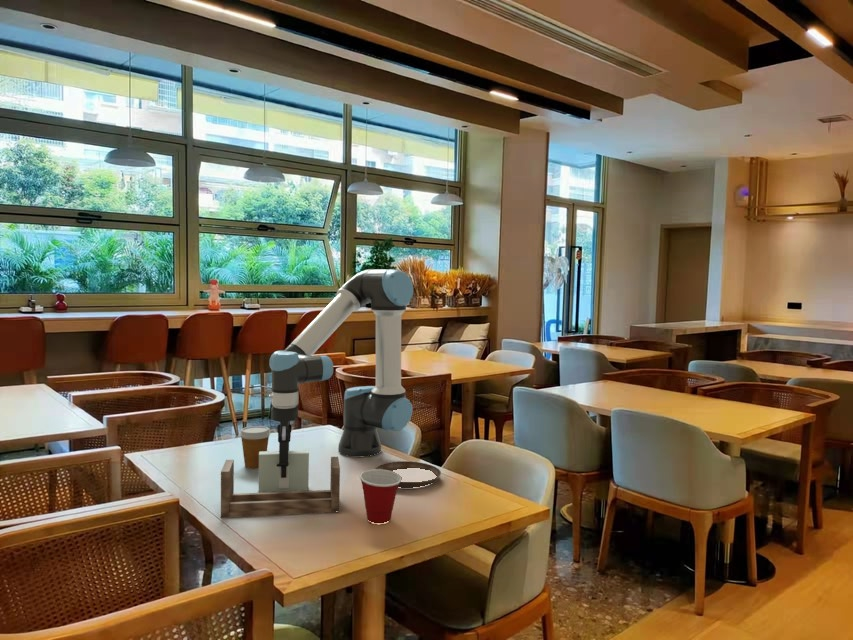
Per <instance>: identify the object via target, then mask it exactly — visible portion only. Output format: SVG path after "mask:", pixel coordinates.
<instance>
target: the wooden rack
mask: <svg viewBox="0 0 853 640" xmlns="http://www.w3.org/2000/svg"><path fill="white" fill-rule="evenodd" d="M234 461H235V460H234V459H226V460H225V462H224V463H223V466H222V469H221V471H220V518H239V517H240V518H241V517H242V518H243V517H245V518H246V517H263V516H265V517H266V515H268V516H284V515H285V516H286V515H287V516H288V515H308V514H309V515H310V513H311V514H324V513H323V512H333V513H337V512H336V511H339V512H340V490H341V489H340V488H341V487H340V484H341V483H340V481H341V478H340V477H341V466H340V460H339V456H330V488H329V489H324V490H323V489H319V490H316V489H315V490H304V491H278V492H247V493H245V492H244V493H241V492H240V493H239V492H238V493H235V491H234V490H235V489H234V487H235V485H234V484H235V481H234V480H235V479H234V478H235V477H234V476H235V470H234V467H235V462H234Z"/></svg>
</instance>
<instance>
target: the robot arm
mask: <svg viewBox="0 0 853 640" xmlns="http://www.w3.org/2000/svg"><path fill="white" fill-rule="evenodd" d="M413 297H414V286H413V281H412V279H411V277H410V276H409V275H408V274H407V273H406V272H404V271H403V270H400V269H395V268H394V269H393V268H389V269H385V268H384V269H383V268H382V269H381V268H380V269H379V268H377V269H375V268H369V269H364V270H362V271H359V272H358V273H356V274H355V275H353V276H352V277H351V278H349V279H348V280H347V281H346V282H345V283H343V284H342V285H341V286H340V287H339V288H338V289H337V291H336V296H335V297H334V298H333V299H332V300H331V301H330V302H329V303H328V305H326V307H324V309H322V310H321V311H320V313H319V314H318V315H317V316H316V317H315V318H314V319H313V320H312V321H311V322H310V323H309V324H308V325H307V326H306V327H305V328H304V329H303V330H302V331H301V332H300V334H298V335H297V336H296V338H295V339H294V340H293V341H291V343H290V344H289V345H288V346H287V347H286V348H285V349H284V350H283V349H281V350H276V351H274V352H273V353H272V354H271V356H270V358H269V363H268V364H269V368H270V369H271V394H269V397H268V398H271V405H272V407H271V414H270V416H271V417H270V418H271V420H272V421H274V422H279V423H280V424H277V432H276V433H277V442H278V444H279V445H278V446H279V447H278V449H279V450H278V451H279V464H277V467H279V488H288V486H289V463H288V451H290V442H291V436H292V435H291V433H292V429H293V426H292V425H293V424H292V423H291V424H290V422H293V421H296V420H298V417H299V407H298V405H299V394H300V393H299V385H300V384H307V383H315V382H323V381H326V380H329V379H330V378H331V377H332V376H333V374H334V363H333V360H332V359H331V358H330V357H329V356H328V355H319V354H318V355H314V354H315V353H316V352H317V351H318V349H320V347H321V346H322V345H324V344H325V342H326V341H327V340H328V339H329V338H330V337H331V336H332V335H333V334H334V332H335V331H336V330H338V328H339V327H340V326H341V325H342V324H343V323H344V322H345V320H346V319H347V318H348V317H350V315H351V314H352V313H353V312H357V311H360V309H361V308H362V307H363V306H365V305H367V304H370V310H371V311H372V313H373V314H374V315H375V385H366V386H365V385H364V386H362V385H361V386H354V387H349V388H346V389H345V391H344V397H343V432H342V435H341V437H340V440H339V443H338V448H337V449H338V453H339V452H340V453H341V454H340V453H339V454H340V455H343V456H346V455H348V456H347V457H351V456H368V457H371V456H370V455H373V456H375V455H374V454H377V453H379V452H380V451H381V452H382V443H381V440H380V437H379V433H378V429H381V430H384V431H388V432H400V431H402V430H404V429H405V428H406V426H407V425H408V423H410V421H411V418H412V415H413V404H412V402H411V401H410V399H408V398H407V397H406V389H405V388H404V386H402V315H403V314H404V313H405V312H406V310H407V305H409V303H410V302H411V301H412V299H413ZM377 428H378V429H377ZM381 452H380V453H381ZM380 453H379V454H380ZM377 455H378V454H377Z"/></svg>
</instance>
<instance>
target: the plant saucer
mask: <svg viewBox="0 0 853 640" xmlns="http://www.w3.org/2000/svg"><path fill="white" fill-rule="evenodd" d="M407 468H420V469H425V470H430V471H432V472H433V473H434V474H435V475H436V476H437V477H436V478H435V479H432V480H428V481H422V482H400V483H399V486H398V487H401V488H413V487H420V486H425V485H428V484H431V483H433V484H434V483H436V482H437V481H438V480H439V478H440V476H441V474H442V472H441V470H440V469H439V468H438V467H436V466H434V465H431V464H428V463H424V462H418V461H408V460H407V461H405V460H403V461H401V460H400V461H391V462H384V463H382V464H379V465H377V466H376V467H375V468H374V469H382V470H389V471H393V470H397V469H407ZM435 481H436V482H435Z"/></svg>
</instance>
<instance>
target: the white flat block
mask: <svg viewBox="0 0 853 640" xmlns="http://www.w3.org/2000/svg"><path fill="white" fill-rule="evenodd" d="M288 463H289V486H288V488H279V467H277V464H279V450H269V451H268V450H267V451H260V452H259V468H258V493H265V492H273V491H278V492H290V491H309V473H310V472H309V470H310V469H309V467H310V466H309V465H310V450H309V449H305V450H289V451H288Z"/></svg>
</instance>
